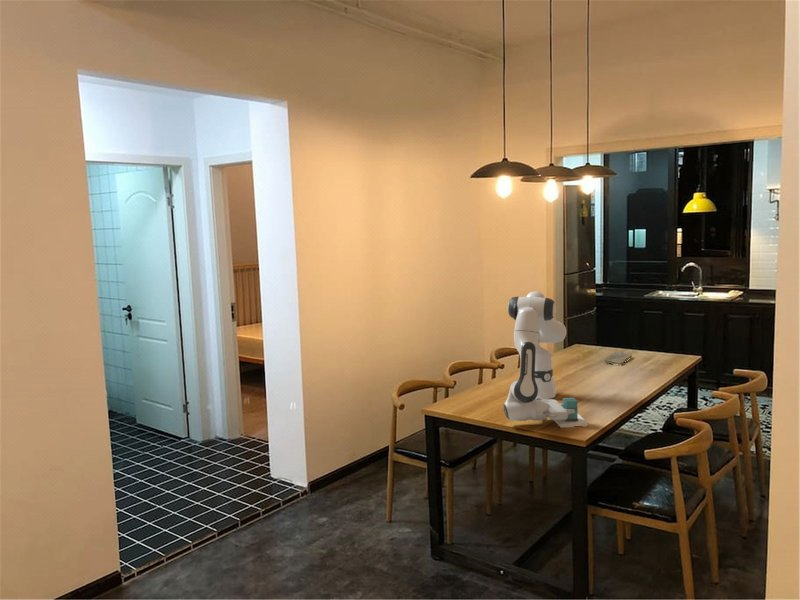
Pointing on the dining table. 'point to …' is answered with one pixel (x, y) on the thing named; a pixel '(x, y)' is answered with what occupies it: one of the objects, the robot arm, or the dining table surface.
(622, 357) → the stone slab
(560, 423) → the board
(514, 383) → the robot arm
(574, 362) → the dining table surface
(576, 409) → the block
